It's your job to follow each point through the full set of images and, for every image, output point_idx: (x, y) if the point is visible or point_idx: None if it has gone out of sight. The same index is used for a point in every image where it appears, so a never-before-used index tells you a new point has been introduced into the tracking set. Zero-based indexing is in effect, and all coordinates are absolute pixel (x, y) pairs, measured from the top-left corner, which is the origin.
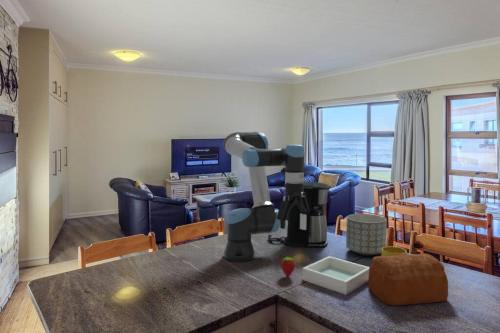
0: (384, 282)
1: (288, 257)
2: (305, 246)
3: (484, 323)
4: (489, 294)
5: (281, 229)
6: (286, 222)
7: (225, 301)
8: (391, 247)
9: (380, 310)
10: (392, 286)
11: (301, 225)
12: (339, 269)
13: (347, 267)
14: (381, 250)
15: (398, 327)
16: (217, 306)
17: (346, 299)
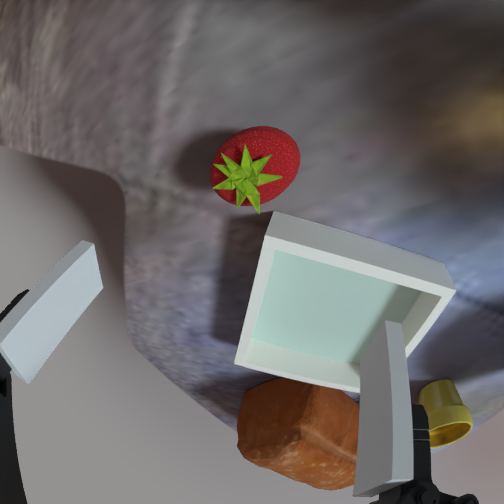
0: (245, 422)
1: (258, 173)
2: None
3: None
4: None
5: (49, 280)
6: (28, 368)
7: (31, 103)
8: (469, 427)
9: (218, 380)
10: (237, 426)
11: (379, 362)
12: (408, 305)
13: None
14: (446, 421)
15: (185, 391)
16: (15, 109)
17: (221, 338)
